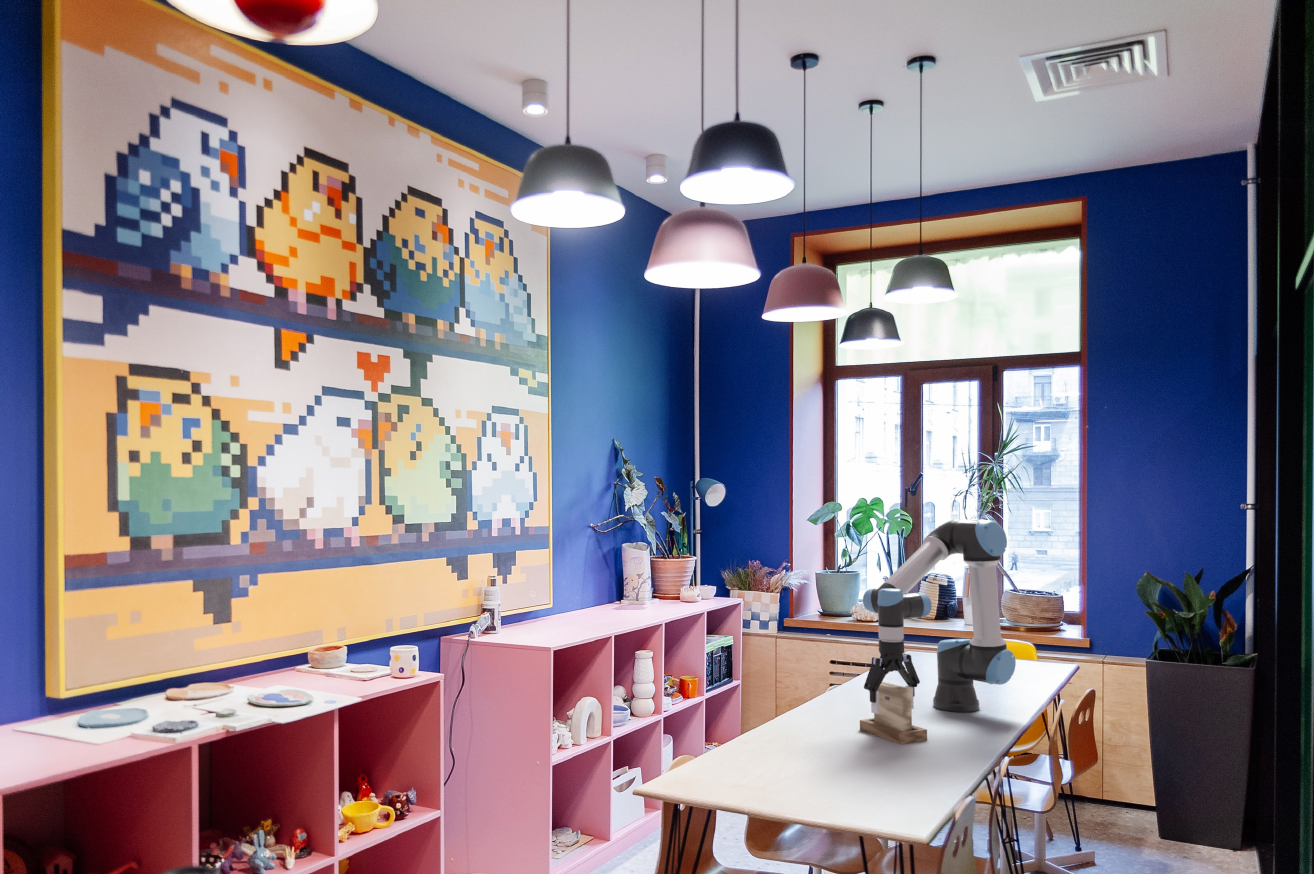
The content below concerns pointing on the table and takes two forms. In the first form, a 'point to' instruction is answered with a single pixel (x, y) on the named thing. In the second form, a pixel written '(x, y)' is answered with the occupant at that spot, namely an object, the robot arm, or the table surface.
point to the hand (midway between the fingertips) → (892, 710)
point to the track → (893, 732)
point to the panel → (894, 707)
